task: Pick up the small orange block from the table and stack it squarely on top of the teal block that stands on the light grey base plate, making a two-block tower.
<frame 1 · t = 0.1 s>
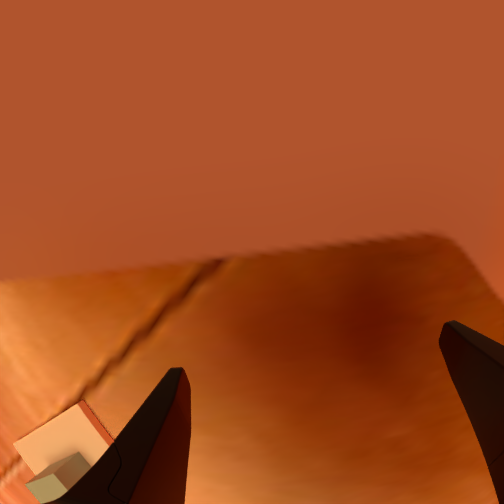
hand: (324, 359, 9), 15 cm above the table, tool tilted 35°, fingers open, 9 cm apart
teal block: (81, 481, 21), point 1 cm above the table, touching base plate
base plate: (86, 476, 22), on the table
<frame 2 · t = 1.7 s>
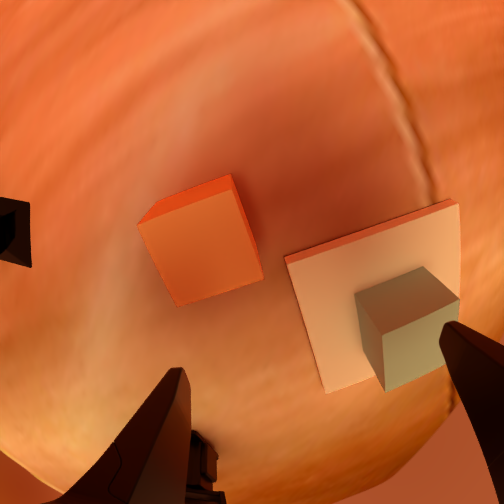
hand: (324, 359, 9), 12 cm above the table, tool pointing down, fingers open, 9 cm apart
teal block: (393, 310, 23), point 1 cm above the table, touching base plate
base plate: (386, 302, 24), on the table
orange block: (207, 222, 20), on the table
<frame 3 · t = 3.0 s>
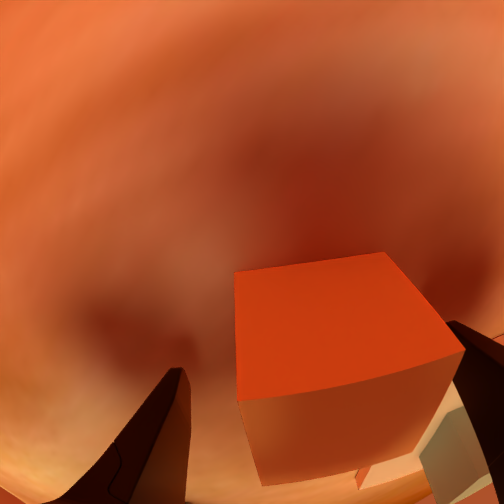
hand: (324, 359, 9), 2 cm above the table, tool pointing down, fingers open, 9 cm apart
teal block: (466, 422, 15), point 1 cm above the table, touching base plate
base plate: (459, 410, 16), on the table
orange block: (313, 321, 11), on the table
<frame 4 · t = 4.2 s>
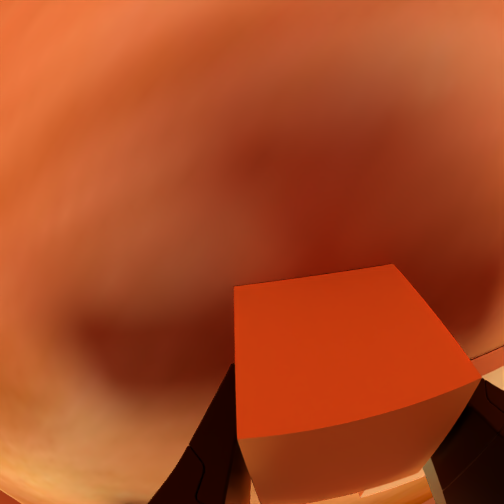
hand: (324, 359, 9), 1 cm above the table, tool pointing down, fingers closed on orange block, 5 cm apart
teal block: (470, 430, 14), point 1 cm above the table, touching base plate
base plate: (463, 418, 15), on the table
orange block: (317, 337, 10), on the table, touching gripper
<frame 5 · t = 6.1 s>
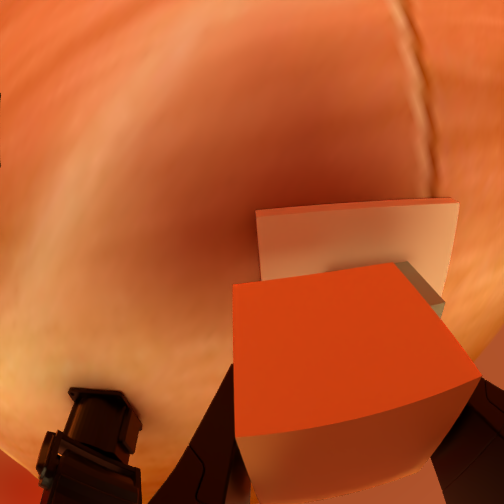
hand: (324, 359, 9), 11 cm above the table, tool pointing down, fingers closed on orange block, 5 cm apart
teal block: (364, 303, 21), point 1 cm above the table, touching base plate
base plate: (358, 294, 22), on the table
orange block: (317, 336, 10), point 10 cm above the table, touching gripper
when the fingers open (8 cm above the table, at t = 7.9 s): orange block drops 1 cm, resting on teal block.
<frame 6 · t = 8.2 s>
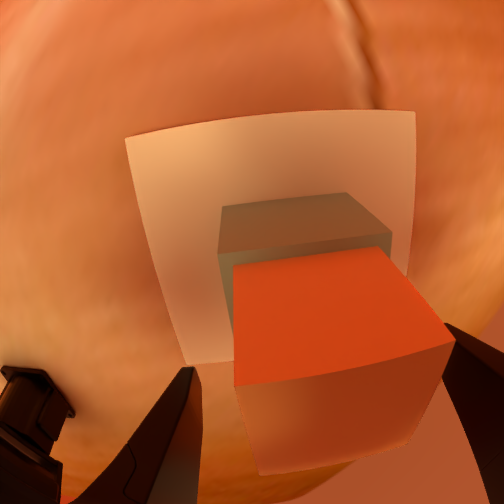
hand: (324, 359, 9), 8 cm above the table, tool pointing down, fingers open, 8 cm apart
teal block: (290, 255, 16), point 1 cm above the table, touching base plate, orange block
base plate: (286, 245, 17), on the table
orange block: (310, 315, 11), point 6 cm above the table, touching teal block
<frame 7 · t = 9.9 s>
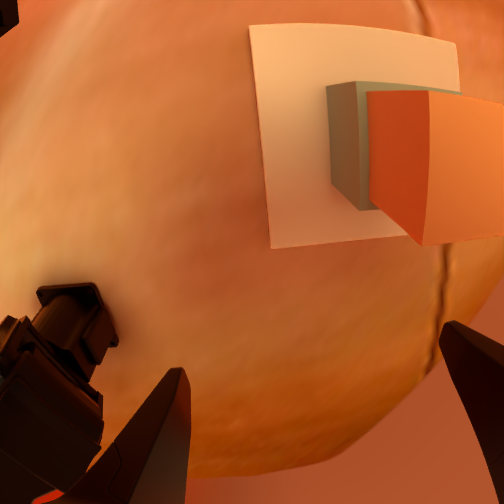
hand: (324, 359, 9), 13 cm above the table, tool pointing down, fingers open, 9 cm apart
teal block: (375, 134, 17), point 1 cm above the table, touching base plate, orange block
base plate: (368, 132, 18), on the table
orange block: (415, 146, 12), point 6 cm above the table, touching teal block
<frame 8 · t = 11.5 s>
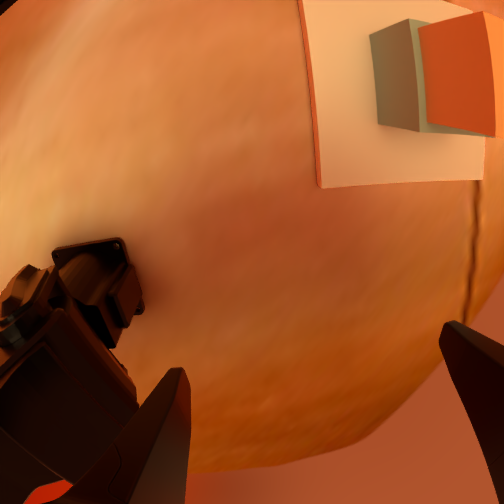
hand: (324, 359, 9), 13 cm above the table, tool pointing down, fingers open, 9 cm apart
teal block: (413, 81, 16), point 1 cm above the table, touching base plate, orange block
base plate: (405, 82, 17), on the table
orange block: (459, 79, 11), point 6 cm above the table, touching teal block
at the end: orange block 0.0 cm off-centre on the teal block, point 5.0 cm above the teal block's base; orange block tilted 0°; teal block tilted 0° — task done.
